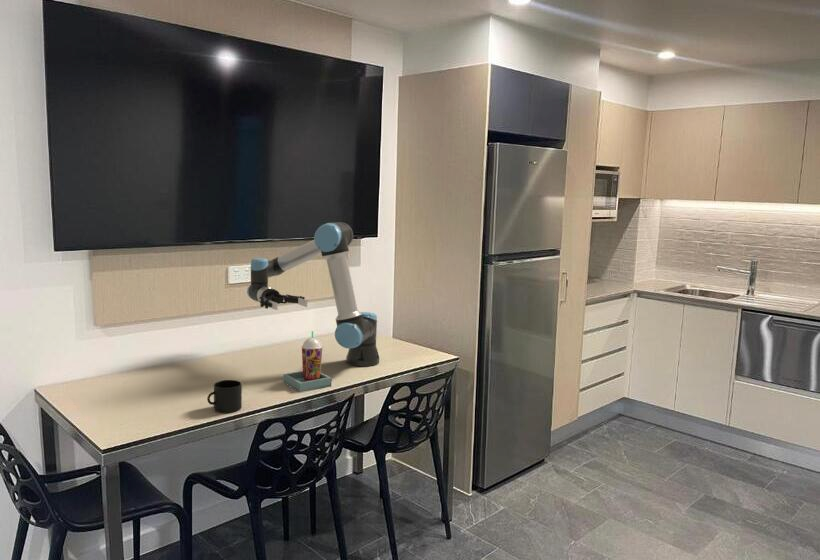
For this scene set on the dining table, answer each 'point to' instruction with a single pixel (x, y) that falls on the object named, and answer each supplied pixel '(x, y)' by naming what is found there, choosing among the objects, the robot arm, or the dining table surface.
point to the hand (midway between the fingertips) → (291, 305)
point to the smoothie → (311, 359)
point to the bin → (301, 385)
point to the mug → (227, 396)
